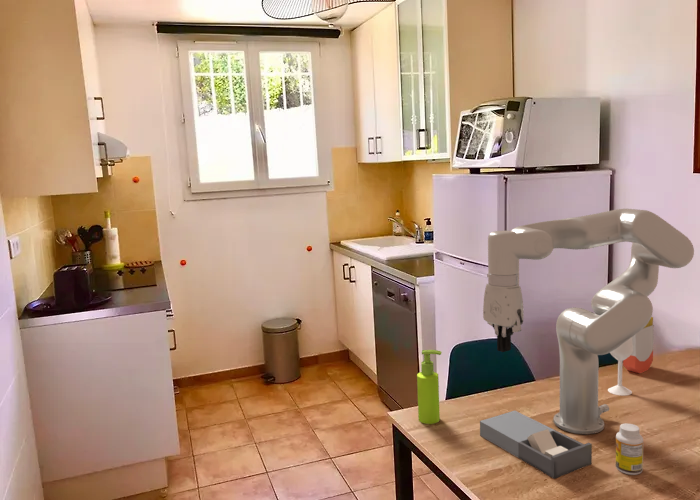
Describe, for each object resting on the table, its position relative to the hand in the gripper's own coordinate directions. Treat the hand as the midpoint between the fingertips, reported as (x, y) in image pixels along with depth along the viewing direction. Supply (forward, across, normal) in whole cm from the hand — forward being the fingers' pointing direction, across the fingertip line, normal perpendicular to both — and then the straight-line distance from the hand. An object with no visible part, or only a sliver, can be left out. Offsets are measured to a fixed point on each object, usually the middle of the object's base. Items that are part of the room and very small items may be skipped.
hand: (504, 350), depth 146 cm
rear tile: (+20, +12, -1) cm, 24 cm away
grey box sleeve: (+23, +4, 0) cm, 23 cm away
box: (+23, +16, -1) cm, 28 cm away
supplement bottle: (+23, +29, +10) cm, 38 cm away
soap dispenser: (+23, -18, -10) cm, 31 cm away
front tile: (+20, +19, -1) cm, 27 cm away
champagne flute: (+23, 0, +48) cm, 53 cm away
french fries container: (+23, -8, +69) cm, 73 cm away
